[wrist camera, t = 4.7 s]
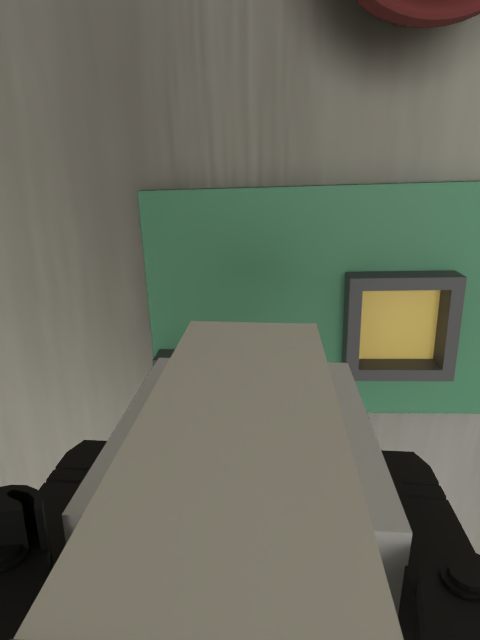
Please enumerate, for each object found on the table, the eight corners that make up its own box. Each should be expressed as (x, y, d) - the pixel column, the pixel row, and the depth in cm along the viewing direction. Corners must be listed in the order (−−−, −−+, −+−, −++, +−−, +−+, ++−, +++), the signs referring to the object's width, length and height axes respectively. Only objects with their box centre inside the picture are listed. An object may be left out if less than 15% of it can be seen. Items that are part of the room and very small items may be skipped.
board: (141, 190, 31) (127, 193, 28) (516, 179, 29) (545, 181, 26) (161, 404, 36) (151, 426, 33) (482, 406, 34) (502, 430, 31)
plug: (190, 320, 15) (-94, 821, 3) (317, 323, 14) (474, 880, 3) (194, 430, 16) (-5, 1070, 5) (311, 435, 16) (406, 1125, 4)
